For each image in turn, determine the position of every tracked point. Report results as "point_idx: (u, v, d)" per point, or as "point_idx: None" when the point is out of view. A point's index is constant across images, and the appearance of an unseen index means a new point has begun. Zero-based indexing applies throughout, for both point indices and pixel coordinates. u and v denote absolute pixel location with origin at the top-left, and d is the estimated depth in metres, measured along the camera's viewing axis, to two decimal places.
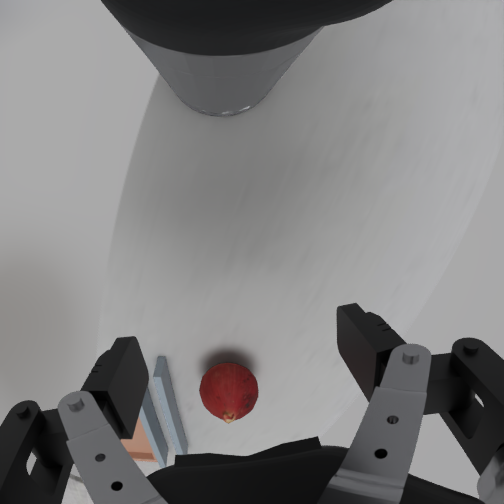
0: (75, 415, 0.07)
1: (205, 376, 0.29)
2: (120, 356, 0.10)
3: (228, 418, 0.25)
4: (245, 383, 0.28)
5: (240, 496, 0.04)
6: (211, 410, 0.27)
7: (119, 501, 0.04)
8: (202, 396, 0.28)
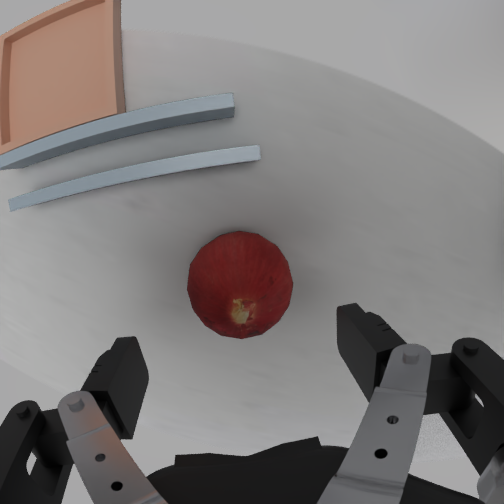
0: (75, 415, 0.07)
1: None
2: (120, 356, 0.10)
3: (250, 314, 0.14)
4: (281, 315, 0.17)
5: (240, 496, 0.04)
6: (232, 269, 0.15)
7: (119, 501, 0.04)
8: (245, 244, 0.16)
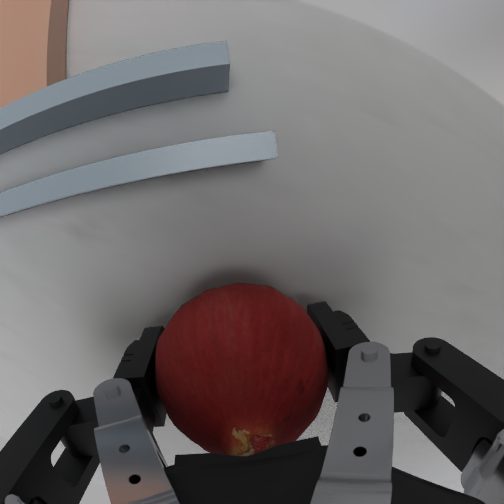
0: (114, 401, 0.07)
1: (292, 302, 0.10)
2: (152, 344, 0.10)
3: None
4: None
5: (240, 496, 0.04)
6: (229, 372, 0.07)
7: (134, 494, 0.04)
8: (251, 318, 0.08)
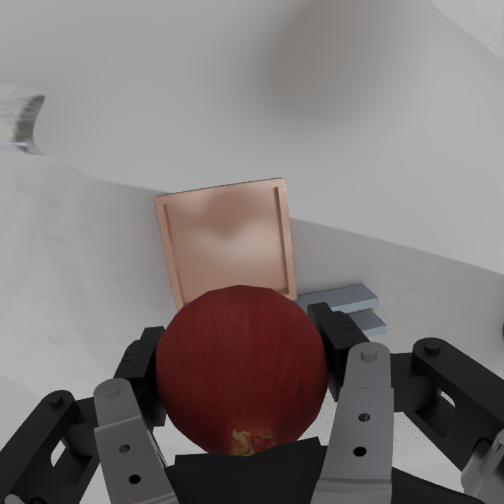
0: (114, 401, 0.07)
1: (292, 303, 0.10)
2: (152, 344, 0.10)
3: None
4: None
5: (240, 496, 0.04)
6: (229, 374, 0.07)
7: (134, 494, 0.04)
8: (251, 320, 0.08)
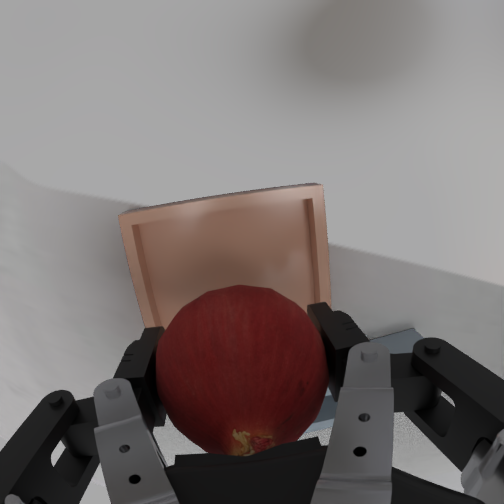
0: (114, 401, 0.07)
1: (292, 303, 0.10)
2: (152, 344, 0.10)
3: None
4: None
5: (240, 496, 0.04)
6: (229, 373, 0.07)
7: (134, 495, 0.04)
8: (251, 320, 0.08)
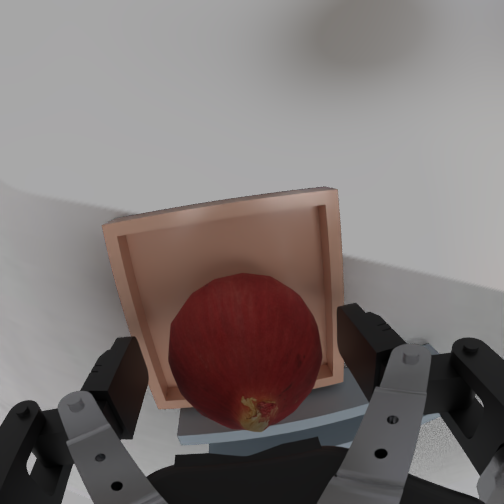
0: (75, 415, 0.07)
1: (289, 289, 0.11)
2: (120, 356, 0.10)
3: (270, 423, 0.08)
4: None
5: (240, 496, 0.04)
6: (238, 348, 0.09)
7: (119, 501, 0.04)
8: (255, 302, 0.10)
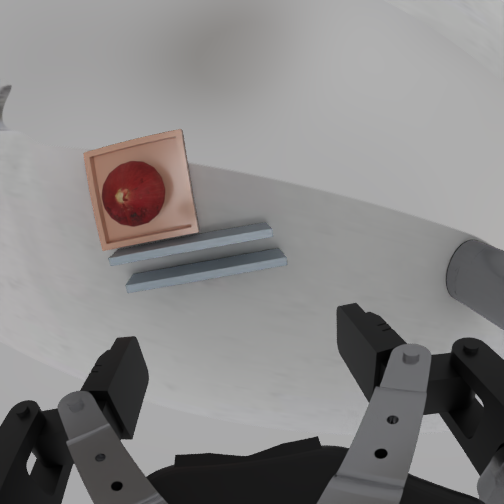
0: (75, 415, 0.07)
1: (150, 165, 0.26)
2: (120, 356, 0.10)
3: (124, 195, 0.22)
4: (155, 209, 0.26)
5: (240, 496, 0.04)
6: (120, 175, 0.23)
7: (120, 501, 0.04)
8: (131, 164, 0.25)
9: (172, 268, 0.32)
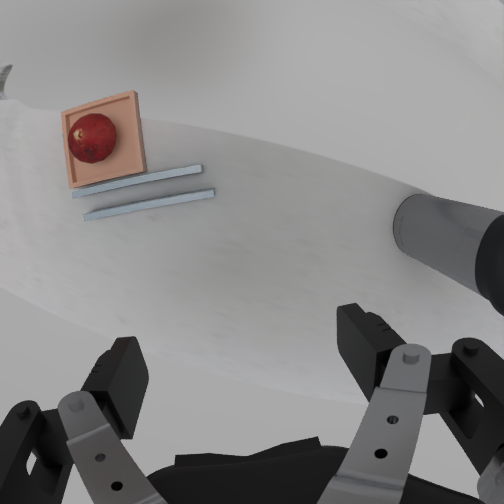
0: (75, 415, 0.07)
1: (106, 116, 0.30)
2: (120, 356, 0.10)
3: (79, 132, 0.27)
4: (105, 147, 0.30)
5: (240, 496, 0.04)
6: (80, 121, 0.28)
7: (119, 501, 0.04)
8: (90, 114, 0.29)
9: (124, 204, 0.37)
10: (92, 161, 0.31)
